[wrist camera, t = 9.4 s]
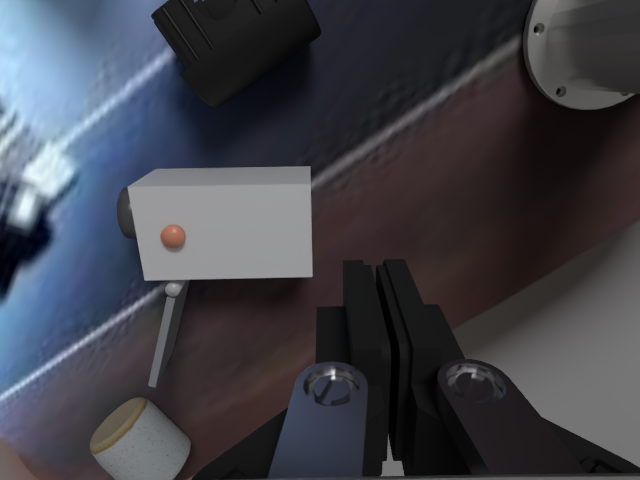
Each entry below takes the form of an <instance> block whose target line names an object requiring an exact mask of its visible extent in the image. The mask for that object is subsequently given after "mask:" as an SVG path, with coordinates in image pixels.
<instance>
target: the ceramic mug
mask: <svg viewBox="0 0 640 480" xmlns="http://www.w3.org/2000/svg"><path fill="white" fill-rule="evenodd" d="M190 448H191V442H190V440H189V438H188V437H187V436H186V435H185V434H184V433H183V432H182V431H181V430H180V429H179V428H178V427H177V426H176V425H175V424H174V423H173V422H172V421H171V420H170V419H169V418H168V417H167V416H166V415H165V414H164V413H163V412H162V411H161V410H160V409H159V408H158V407H157V406H156V405H155V404H154V403H152V402H151V401H149V400H148V399H146V398H143V397H137V398H133V399H130V400H129V401H127V402H125V403H124V404H122V405H121V406H120V407H118V408H117V409H116V410H115V411H114V412H112V413H111V414H110V415H109V416H108V417H107V418H106V419H105V420H104V421H103V423H102V424H101V425H100V426H99V427H98V429H97V430H96V432H95V433H94V435H93V437H92V439H91V442H90V450H91V453H92V454H93V456H94V457H95V459H96V460H97V461H98V463H99V464H100V465H101V466H102V467H103V468H104V469H105V470H106V471H107V472H108V473H109V474H110V475H111V476H112V477H113V478H114V479H115V480H173V479H174V478H175V477H176V475H177V474H178V473H179V472H180V470H181V469H182V467H183V465H184V463H185V462H186V460H187V457H188V455H189V453H190Z"/></svg>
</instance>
